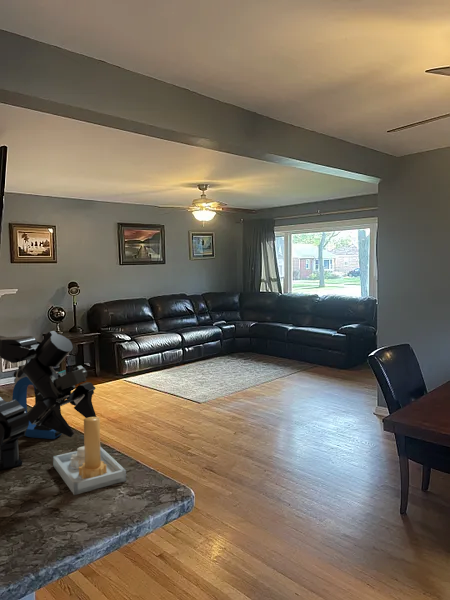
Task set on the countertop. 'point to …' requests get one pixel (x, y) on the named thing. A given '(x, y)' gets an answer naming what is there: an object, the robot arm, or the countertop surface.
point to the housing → (69, 472)
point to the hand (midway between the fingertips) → (84, 429)
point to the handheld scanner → (21, 397)
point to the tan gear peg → (92, 450)
